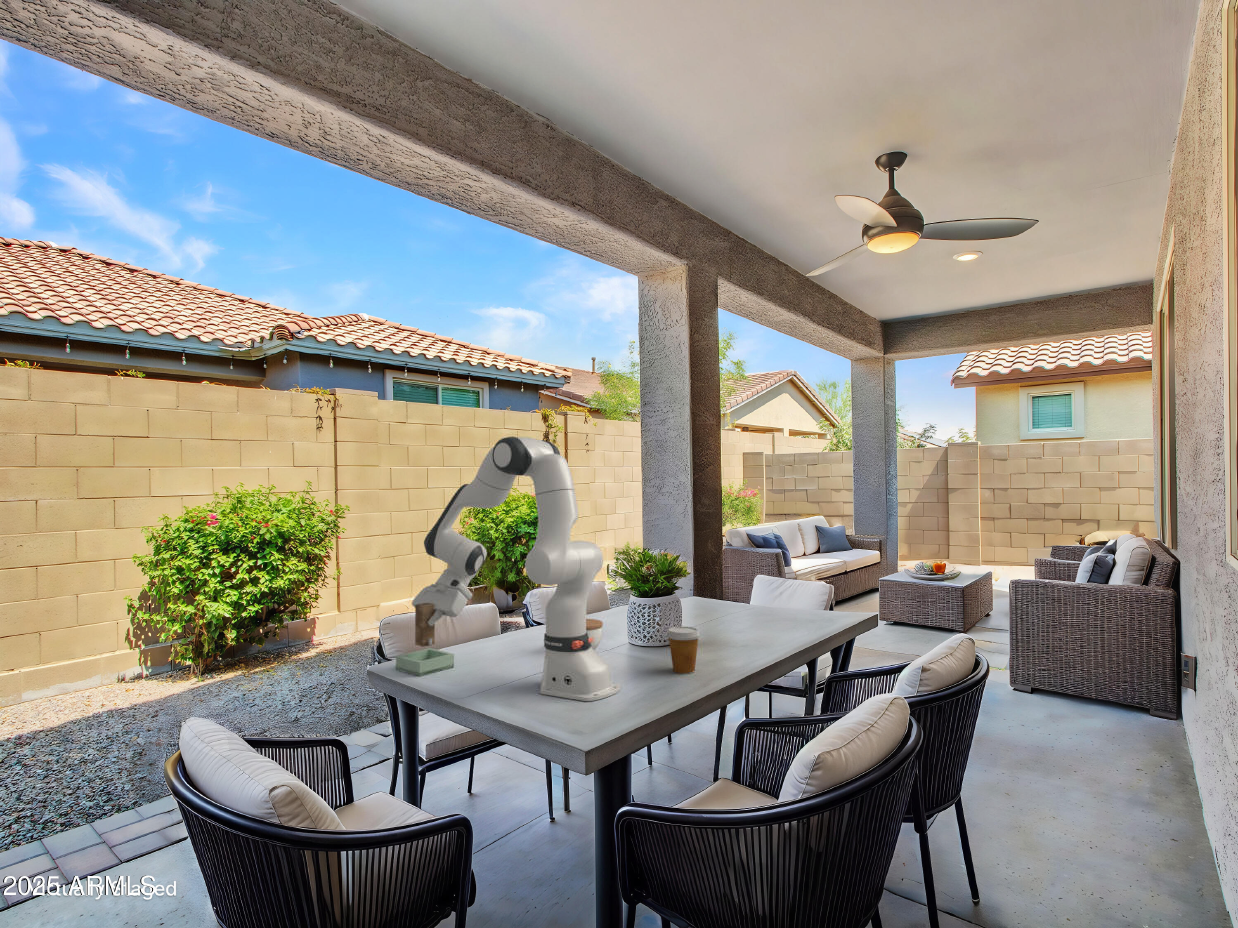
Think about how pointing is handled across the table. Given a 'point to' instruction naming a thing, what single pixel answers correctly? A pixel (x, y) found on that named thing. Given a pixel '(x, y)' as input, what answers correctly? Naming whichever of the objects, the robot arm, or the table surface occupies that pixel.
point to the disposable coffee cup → (683, 648)
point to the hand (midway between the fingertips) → (423, 623)
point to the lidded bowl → (594, 631)
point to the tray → (424, 662)
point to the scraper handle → (424, 624)
